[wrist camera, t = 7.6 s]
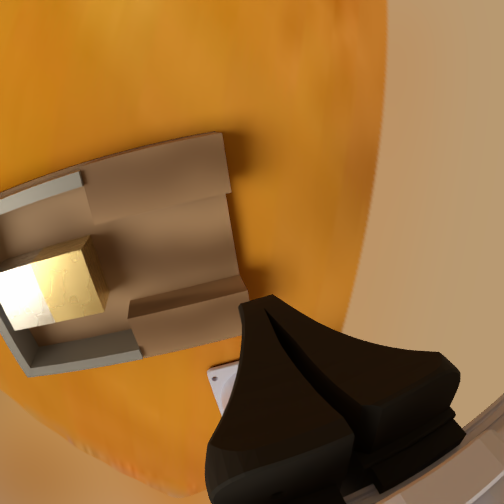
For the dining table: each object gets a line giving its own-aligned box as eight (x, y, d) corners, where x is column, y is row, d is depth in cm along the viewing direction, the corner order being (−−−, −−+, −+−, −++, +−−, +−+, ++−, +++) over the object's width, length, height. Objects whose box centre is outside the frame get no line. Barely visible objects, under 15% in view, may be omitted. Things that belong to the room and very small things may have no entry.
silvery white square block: (64, 301, 18) (55, 322, 16) (26, 310, 18) (14, 330, 15) (43, 247, 17) (29, 263, 14) (4, 259, 16) (-12, 276, 14)
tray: (143, 335, 21) (143, 358, 19) (36, 356, 19) (27, 377, 17) (90, 165, 16) (78, 171, 14) (-29, 209, 14) (-48, 221, 12)
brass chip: (110, 291, 19) (104, 312, 17) (64, 301, 18) (55, 322, 16) (90, 234, 17) (81, 249, 15) (43, 247, 17) (29, 263, 14)
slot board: (244, 308, 23) (254, 331, 20) (39, 352, 20) (30, 377, 17) (213, 131, 18) (221, 131, 15) (-24, 203, 15) (-46, 215, 12)
